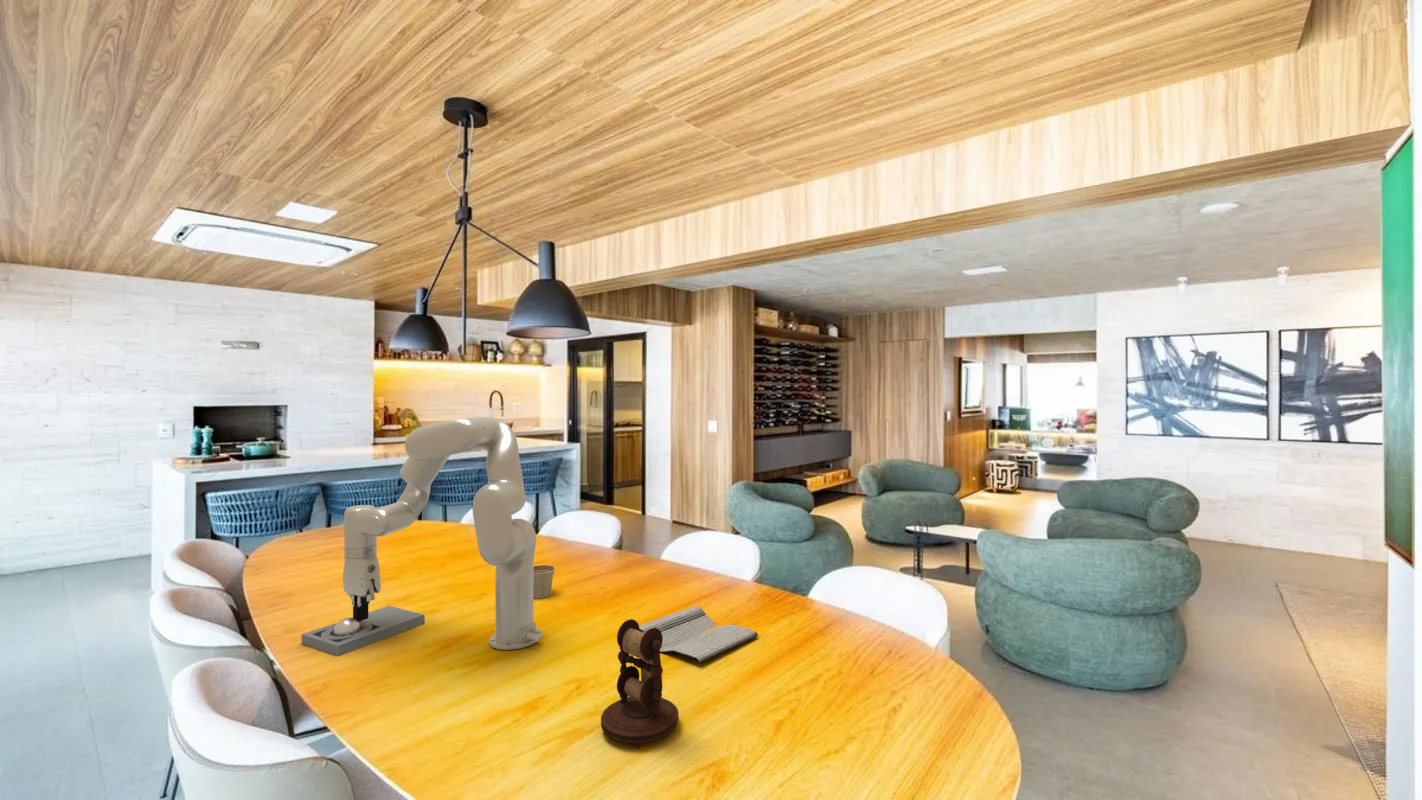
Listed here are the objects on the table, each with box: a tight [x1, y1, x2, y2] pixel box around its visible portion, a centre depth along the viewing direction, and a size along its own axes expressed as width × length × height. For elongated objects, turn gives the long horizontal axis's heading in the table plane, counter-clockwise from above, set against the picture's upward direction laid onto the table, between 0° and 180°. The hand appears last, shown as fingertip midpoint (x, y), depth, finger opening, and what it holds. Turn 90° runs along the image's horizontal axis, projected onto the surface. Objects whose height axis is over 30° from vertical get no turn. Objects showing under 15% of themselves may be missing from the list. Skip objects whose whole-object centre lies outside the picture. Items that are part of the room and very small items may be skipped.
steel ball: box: [333, 617, 360, 636], centre depth 157 cm, size 6×6×6 cm
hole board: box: [301, 605, 425, 657], centre depth 162 cm, size 16×24×2 cm, turn 152°
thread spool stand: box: [600, 618, 679, 749], centre depth 115 cm, size 15×15×20 cm
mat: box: [639, 605, 759, 667], centre depth 156 cm, size 23×24×5 cm
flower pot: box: [533, 564, 557, 599], centre depth 192 cm, size 9×9×9 cm
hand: (360, 619), depth 161 cm, fingers closed
